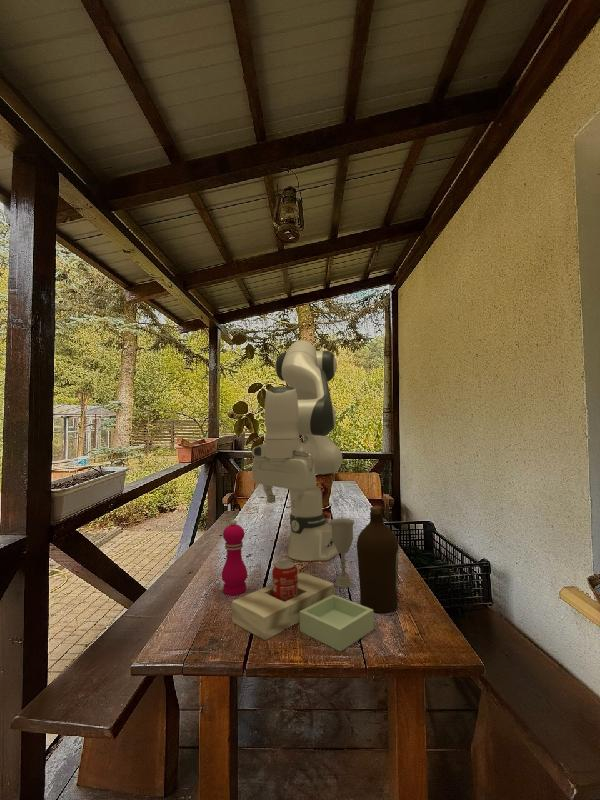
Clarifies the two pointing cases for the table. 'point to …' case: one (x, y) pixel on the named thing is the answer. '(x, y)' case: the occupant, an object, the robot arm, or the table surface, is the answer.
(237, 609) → the socket beam
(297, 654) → the table surface
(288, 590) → the beverage can
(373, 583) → the olive oil
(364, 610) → the shallow square tray
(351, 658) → the table surface
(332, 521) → the chalice
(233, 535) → the pepper mill
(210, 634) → the table surface
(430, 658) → the table surface
